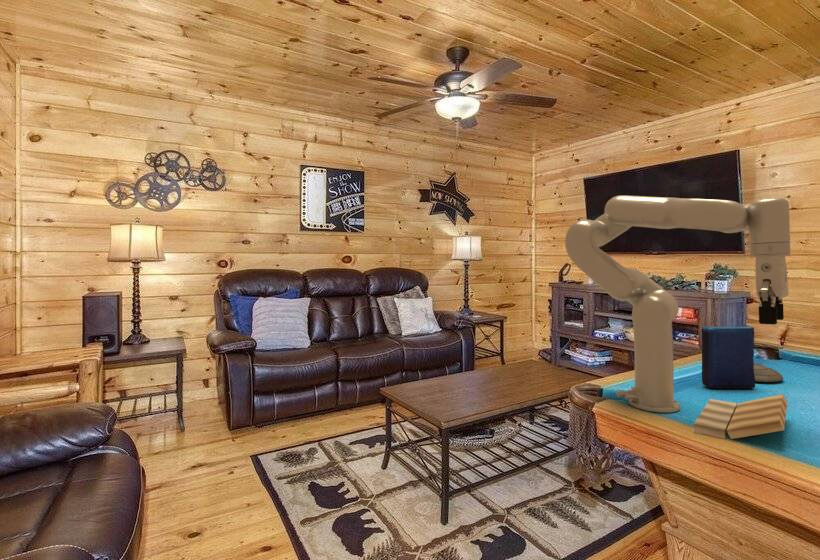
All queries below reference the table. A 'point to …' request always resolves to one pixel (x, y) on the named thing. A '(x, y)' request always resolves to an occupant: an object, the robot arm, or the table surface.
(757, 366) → the flying saucer
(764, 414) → the oak plank
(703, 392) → the table surface
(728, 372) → the book
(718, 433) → the ash board
